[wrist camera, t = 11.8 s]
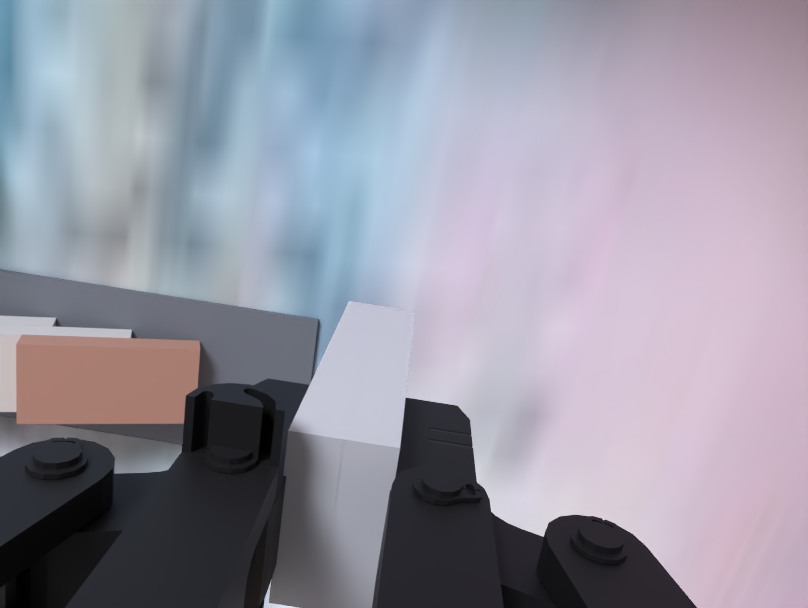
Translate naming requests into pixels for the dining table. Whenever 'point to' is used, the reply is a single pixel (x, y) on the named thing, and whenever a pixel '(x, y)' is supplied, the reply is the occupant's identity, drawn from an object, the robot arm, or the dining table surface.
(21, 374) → the domino
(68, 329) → the domino
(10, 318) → the domino
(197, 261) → the dining table surface
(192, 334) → the mat
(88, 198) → the dining table surface
